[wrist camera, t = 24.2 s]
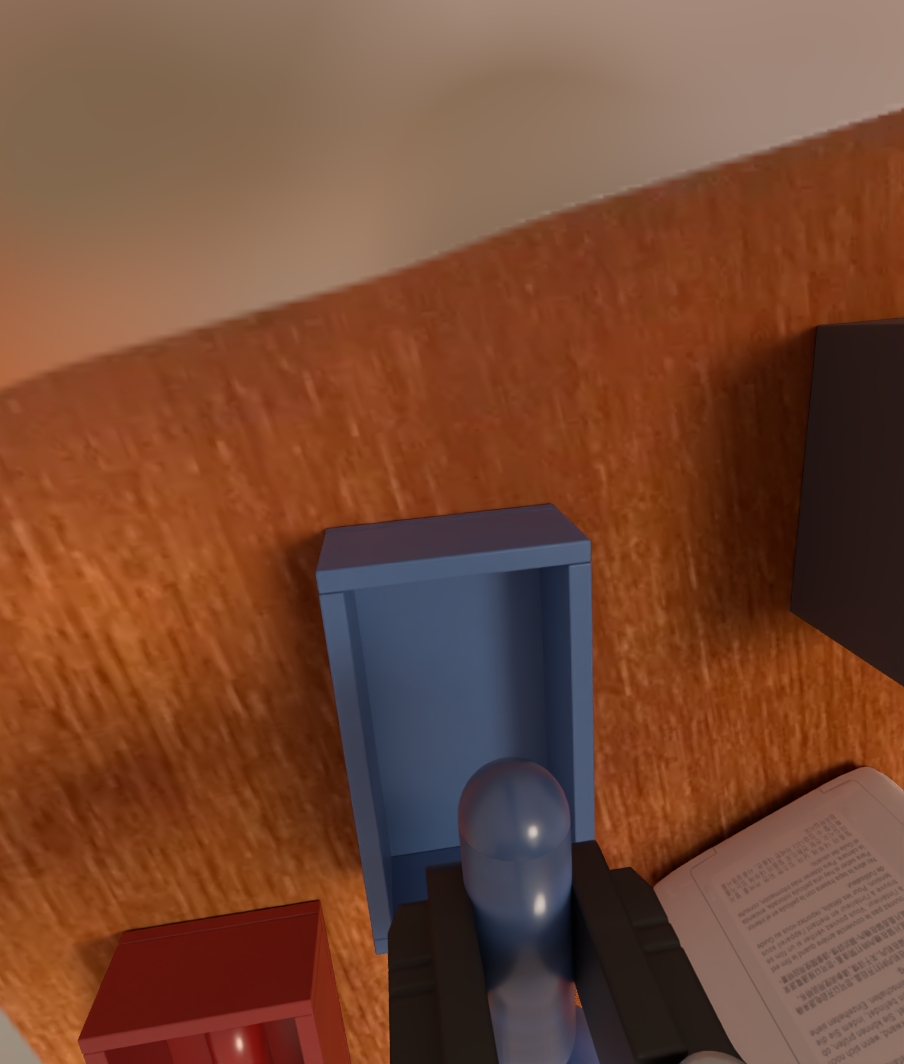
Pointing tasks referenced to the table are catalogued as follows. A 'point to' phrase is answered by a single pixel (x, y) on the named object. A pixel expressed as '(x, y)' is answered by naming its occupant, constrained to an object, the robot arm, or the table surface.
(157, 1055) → the red bin
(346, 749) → the blue bin
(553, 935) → the blue spoon
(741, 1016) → the photo printer
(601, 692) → the table surface
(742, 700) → the table surface
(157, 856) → the table surface
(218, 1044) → the red spoon
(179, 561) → the table surface
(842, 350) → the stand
